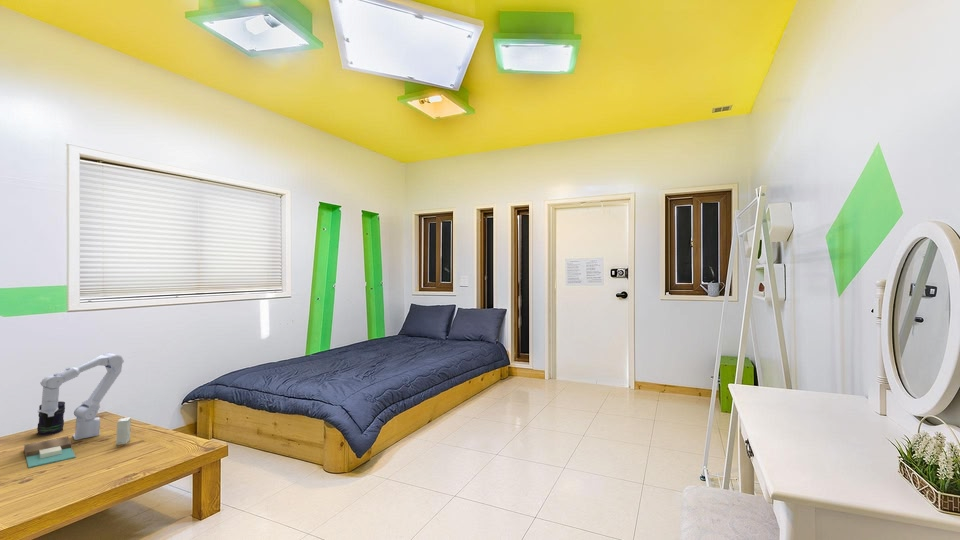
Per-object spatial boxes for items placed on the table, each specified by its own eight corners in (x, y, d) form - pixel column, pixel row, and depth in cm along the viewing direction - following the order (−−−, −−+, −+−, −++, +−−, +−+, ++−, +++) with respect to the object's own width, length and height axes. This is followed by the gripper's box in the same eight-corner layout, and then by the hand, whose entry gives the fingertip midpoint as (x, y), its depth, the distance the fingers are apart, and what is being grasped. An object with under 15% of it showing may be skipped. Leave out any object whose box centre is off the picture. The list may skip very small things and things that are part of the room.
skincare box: (126, 444, 210) (128, 420, 210) (115, 445, 208) (116, 421, 208) (130, 439, 216) (132, 416, 216) (119, 440, 214) (121, 417, 214)
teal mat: (71, 448, 201) (71, 447, 201) (75, 457, 193) (75, 456, 193) (26, 458, 190) (26, 456, 190) (28, 468, 181) (28, 466, 181)
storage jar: (53, 427, 224) (55, 400, 225) (68, 429, 223) (70, 402, 223) (31, 434, 215) (33, 406, 215) (46, 436, 213) (49, 408, 213)
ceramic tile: (59, 450, 198) (60, 445, 198) (61, 454, 194) (61, 449, 195) (38, 454, 193) (39, 450, 193) (40, 458, 189) (40, 454, 189)
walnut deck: (67, 441, 209) (68, 436, 209) (71, 448, 202) (71, 443, 202) (24, 449, 197) (24, 444, 198) (26, 457, 190) (26, 452, 190)
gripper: (37, 398, 204) (35, 425, 204) (39, 405, 195) (37, 433, 195) (57, 395, 210) (55, 421, 210) (60, 402, 201) (58, 429, 201)
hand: (48, 427), depth 203 cm, fingers closed
